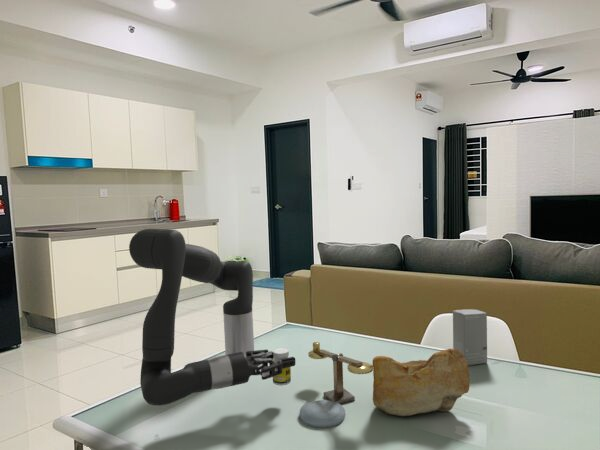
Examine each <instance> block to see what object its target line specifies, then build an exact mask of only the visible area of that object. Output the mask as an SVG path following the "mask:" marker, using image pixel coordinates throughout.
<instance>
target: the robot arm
mask: <svg viewBox="0 0 600 450" xmlns="http://www.w3.org/2000/svg"><path fill="white" fill-rule="evenodd" d="M128 246H129V247H128V251H129V255H130V257H131V259H132V261H133V262H134V263H135V264H136V265H138V266H139V267H141V268H144V269H152V270H161V283H160V284H161V285H160V287H159V291H158V293H157V295H156V297H155V299H154V301H153V303H152V304H151V306H150V308H149V309H148V311H147V313H146V315H145V317H144V320H143V323H142V340H141V341H142V344H141V345H142V346H141V347H142V349H141V350H142V361H141V368H140V377H139V378H140V379H139V380H140V382H139V384H140V389H141V394H142V397H143V398H142V399H144V400H145V402H146V403H147V404H148V405H151V406H165V405H170V404H172V403H175V402H177V401H179V400H182V399H185V398H186V397H188V396H190V395H192V394H197V393H202V392H206V391H210V390H220V389H225V388H228V387H229V388H230V387H234V386H237V385H242V384H246V383H248V382H249V380H250V377H251V376H261V380H267V379H271V378H273V376H276V375H279V374H282V369H283V368H287V367H295V366H296V364H297V363H296V358H295V356H291V357H290V356H289V358H284V359H281V360H280V359H279V360H272V359H273V357H274V356H273V351H272V350H271V351H270V350H269V349H259V350H255V341H254V339H255V337H254V321H253V320H254V319H253V318H254V317H253V301H254V293H253V291H254V287H253V286H254V284H253V283H254V273H253V267H252V264H251V263H250V262H248V261H238V260H237V261H234V260H233V261H231V260H230V261H221V258H220V257H219V256H218V254H217V253H216V252H214V251H213V250H210V249H208V248H206V247H204V246H201V245H200V246H199V245H197V244H195V245H194V244H189V243H186V240H185V237H184V235H183V234H182V233H181V231H179V230H176V229H170V228H169V229H167V228H166V229H165V228H145V229H141V230H140V231H138V232H136V233H135V234H134V235H132V238H131V239H130V242H129V245H128ZM182 278H185V279H189V280H191V281H195V282H199V283H204V284H211V285H213V286H214V287H217V288H218V289H220V290H224V291H236V292H237V297H235V298H233V299H230V300H227V301H226V302H224V303H223V304H222V309H223V310H222V311H223V312H222V313H223V315H222V316H223V326H224V327H223V333H224V350H225V354H223V355H217V356H214V357H212V358H209V359H203V360H198V361H194V362H189V363H187V364H185V365H184V367H183V369H179V370H176V371H172V357H173V355H174V351H175V328H176V327H175V326H176V325H175V324H176V312H177V307H178V301H179V296H180V295H179V294H180V290H181V284H182ZM274 363H276V364H274ZM272 364H273V365H272Z"/></svg>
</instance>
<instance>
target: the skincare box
mask: <svg viewBox="0 0 600 450" xmlns="http://www.w3.org/2000/svg"><path fill="white" fill-rule="evenodd" d="M487 318H488V315H487V312H485V311H482V310H479V309H477V308H476V309H475V308H472V309H465V308H464V309H456V310H452V342H453V343H452V345H453V346H452V349H457V350H459V351H461V353H462V354H463V356H464V358H465V360H466V362H467V366H474V365H481V364H487V363H488V326H487V325H488V321H487V320H488V319H487Z"/></svg>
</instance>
